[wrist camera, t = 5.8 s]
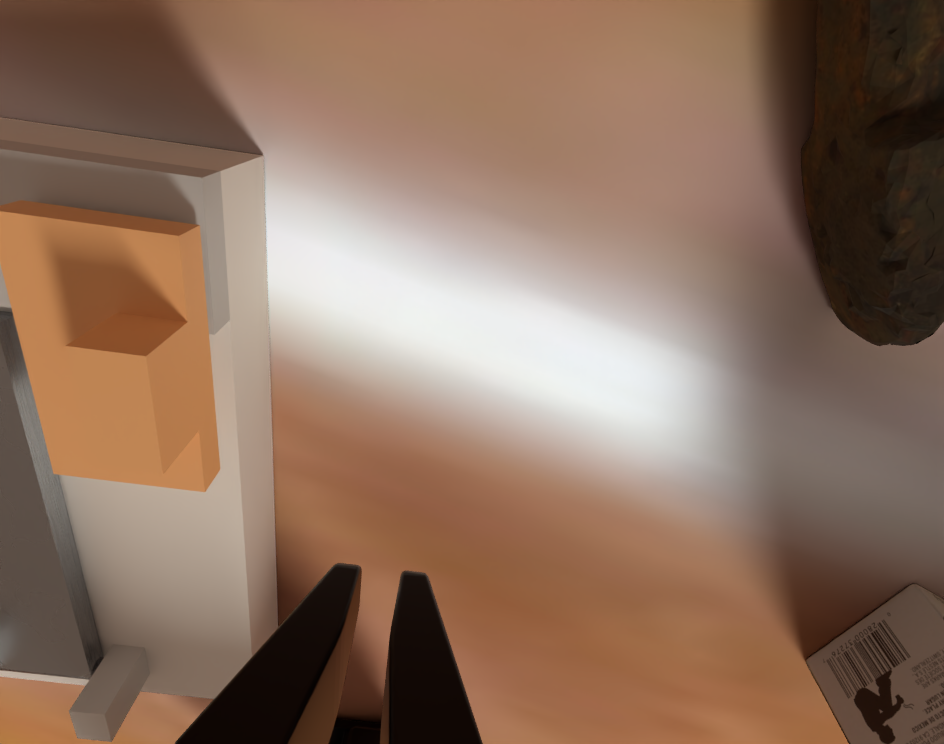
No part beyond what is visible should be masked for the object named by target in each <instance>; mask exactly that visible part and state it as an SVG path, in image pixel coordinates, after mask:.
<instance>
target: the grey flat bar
mask: <svg viewBox="0 0 944 744" xmlns="http://www.w3.org/2000/svg"><path fill="white" fill-rule="evenodd" d="M103 658H104V656H103V652H102V648H101V644H100V640H99V636H98V632H97V628H96V624H95V620H94V616H93V612H92V608H91V604H90V600H89V596H88V592H87V588H86V584H85V580H84V576H83V572H82V568H81V564H80V560H79V556H78V552H77V548H76V544H75V540H74V535H73V531H72V527H71V523H70V519H69V515H68V511H67V507H66V503H65V499H64V495H63V491H62V487H61V483H60V479H59V475H58V474H53V470H52V466H51V462H50V458H49V454H48V450H47V446H46V442H45V438H44V434H43V430H42V426H41V422H40V419H39V415H38V411H37V407H36V403H35V399H34V395H33V391H32V387H31V383H30V379H29V375H28V371H27V367H26V363H25V359H24V355H23V351H22V348H21V344H20V340H19V336H18V332H17V328H16V324H15V320H14V316H13V313H12V312H4V311H0V670H2V671H12V672H21V673H30V674H40V675H49V676H59V677H68V678H78V679H87V680H90V678H91V677H92V675H93V674H94V672H95V671H96V669H97V668H98V666H99V665H100V663H101V662H102V660H103Z"/></svg>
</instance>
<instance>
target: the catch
mask: <svg viewBox="0 0 944 744" xmlns="http://www.w3.org/2000/svg"><path fill="white" fill-rule="evenodd" d="M0 265H1V269H2V273H3V277H4V281H5V284H6V288H7V292H8V296H9V300H10V304H11V308H12V312H13V316H14V320H15V324H16V328H17V332H18V336H19V340H20V344H21V348H22V351H23V355H24V359H25V363H26V367H27V371H28V375H29V379H30V383H31V387H32V391H33V395H34V399H35V403H36V407H37V411H38V415H39V419H40V422H41V426H42V430H43V434H44V438H45V442H46V446H47V450H48V454H49V458H50V462H51V466H52V470H53V474H58V475H66V476H74V477H83V478H91V479H99V480H108V481H116V482H124V483H132V484H141V485H149V486H157V487H166V488H174V489H182V490H190V491H199V492H206V490H207V489H208V487H209V486H210V484H211V483H212V481H213V480H214V478H215V477H216V475H217V474H218V472H219V471H220V458H219V447H218V435H217V423H216V411H215V399H214V387H213V375H212V363H211V352H210V340H209V328H208V316H207V304H206V292H205V280H204V268H203V257H202V245H201V233H200V225H196V224H189V223H182V222H174V221H167V220H160V219H153V218H146V217H139V216H132V215H124V214H117V213H110V212H103V211H96V210H89V209H82V208H74V207H67V206H60V205H53V204H46V203H39V202H32V201H24V200H19V201H15V202H11V203H8V204H4V205H0Z"/></svg>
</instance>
